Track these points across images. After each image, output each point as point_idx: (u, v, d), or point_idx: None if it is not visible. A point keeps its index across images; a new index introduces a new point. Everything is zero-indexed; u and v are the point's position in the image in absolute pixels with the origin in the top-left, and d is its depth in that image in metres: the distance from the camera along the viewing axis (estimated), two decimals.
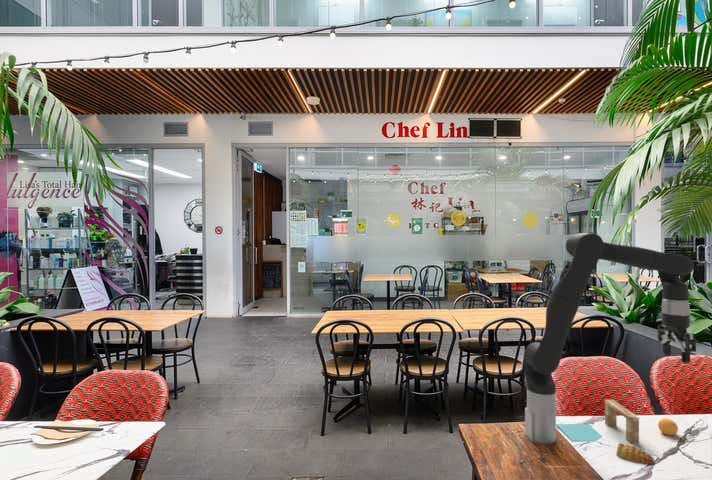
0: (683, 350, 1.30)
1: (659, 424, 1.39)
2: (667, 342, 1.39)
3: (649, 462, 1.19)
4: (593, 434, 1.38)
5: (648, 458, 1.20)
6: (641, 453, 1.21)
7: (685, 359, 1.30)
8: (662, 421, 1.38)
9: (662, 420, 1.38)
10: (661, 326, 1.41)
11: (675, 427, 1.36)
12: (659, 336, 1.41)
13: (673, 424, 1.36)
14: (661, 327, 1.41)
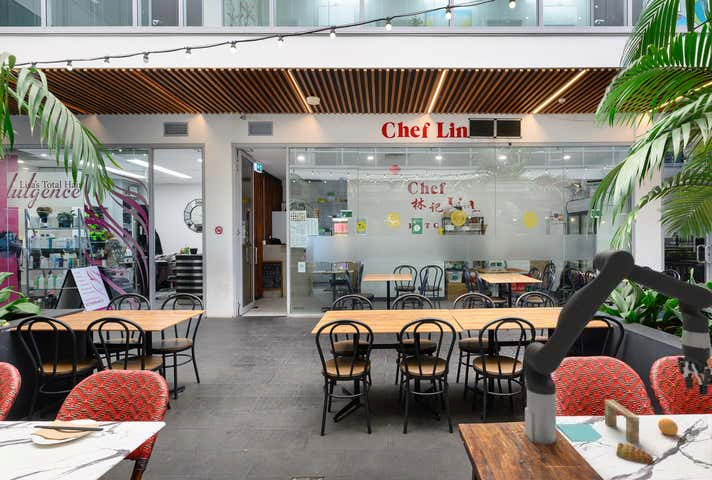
0: (700, 383, 1.34)
1: (659, 424, 1.39)
2: (689, 375, 1.40)
3: (649, 462, 1.19)
4: (593, 434, 1.38)
5: (648, 457, 1.20)
6: (641, 453, 1.22)
7: (702, 391, 1.34)
8: (662, 421, 1.38)
9: (662, 420, 1.38)
10: (680, 358, 1.43)
11: (675, 427, 1.36)
12: (680, 369, 1.43)
13: (673, 424, 1.36)
14: (681, 359, 1.43)
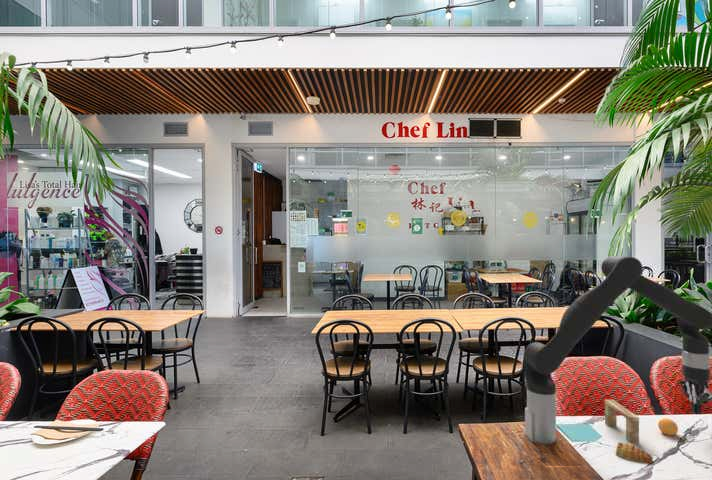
0: (695, 402, 1.36)
1: (659, 424, 1.39)
2: None
3: (648, 461, 1.20)
4: (593, 434, 1.38)
5: (647, 456, 1.20)
6: (640, 452, 1.22)
7: (697, 410, 1.36)
8: (662, 421, 1.38)
9: (662, 420, 1.38)
10: (682, 381, 1.43)
11: (675, 427, 1.36)
12: (685, 392, 1.41)
13: (673, 424, 1.36)
14: (682, 382, 1.42)
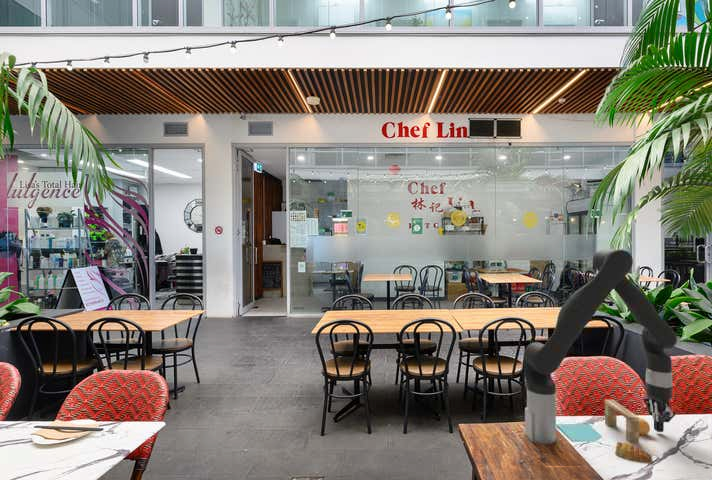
0: (657, 420, 1.37)
1: None
2: None
3: (648, 460, 1.20)
4: (593, 434, 1.38)
5: (647, 456, 1.21)
6: (639, 451, 1.22)
7: (659, 428, 1.37)
8: None
9: None
10: (646, 398, 1.44)
11: (642, 432, 1.36)
12: (649, 409, 1.41)
13: (642, 434, 1.37)
14: (646, 399, 1.43)
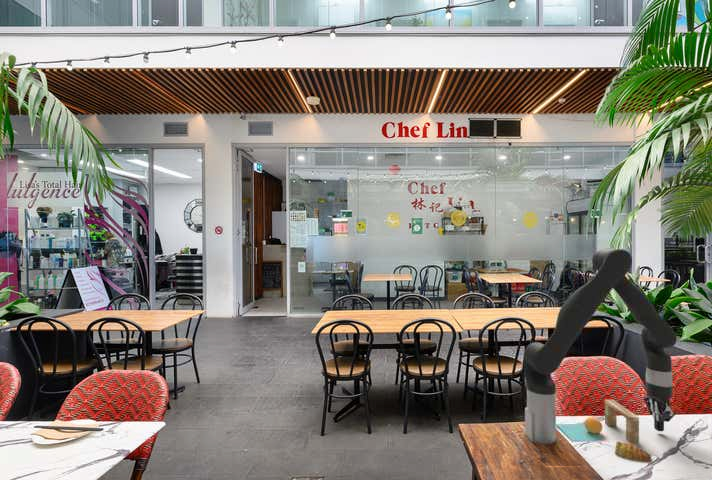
0: (657, 419, 1.37)
1: None
2: None
3: (647, 459, 1.21)
4: (593, 434, 1.38)
5: (646, 455, 1.21)
6: (639, 451, 1.23)
7: (659, 427, 1.37)
8: None
9: None
10: (646, 398, 1.44)
11: (593, 430, 1.37)
12: (649, 409, 1.41)
13: (592, 432, 1.38)
14: (646, 399, 1.43)
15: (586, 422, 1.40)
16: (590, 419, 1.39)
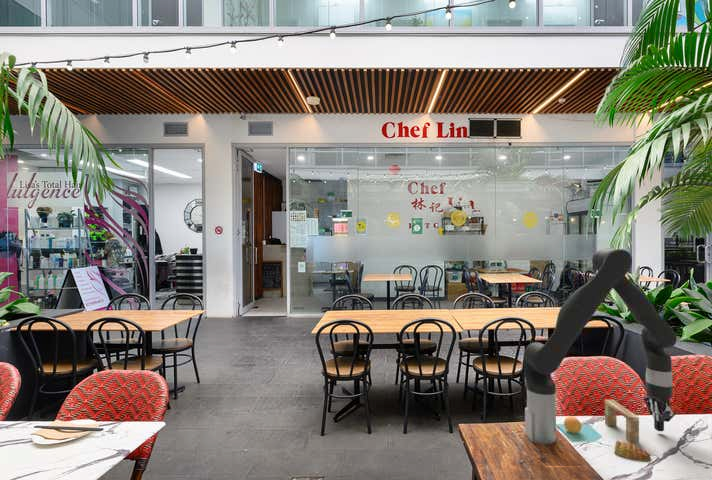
0: (657, 419, 1.37)
1: (569, 417, 1.41)
2: None
3: (647, 459, 1.21)
4: (593, 434, 1.38)
5: (645, 454, 1.22)
6: (638, 450, 1.23)
7: (659, 427, 1.37)
8: (573, 417, 1.40)
9: (574, 417, 1.40)
10: (646, 398, 1.44)
11: (579, 428, 1.38)
12: (649, 409, 1.41)
13: (580, 425, 1.38)
14: (646, 399, 1.43)
15: None
16: None
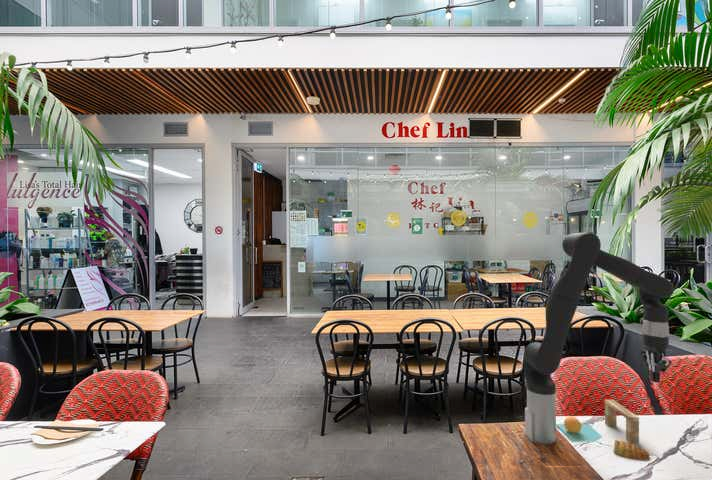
0: (653, 370, 1.38)
1: (569, 417, 1.41)
2: None
3: (646, 457, 1.22)
4: (593, 434, 1.38)
5: (644, 453, 1.22)
6: (637, 449, 1.24)
7: (655, 378, 1.38)
8: (573, 417, 1.40)
9: (574, 417, 1.40)
10: (643, 351, 1.45)
11: (579, 428, 1.38)
12: (645, 361, 1.43)
13: (580, 425, 1.38)
14: (643, 352, 1.44)
15: None
16: None
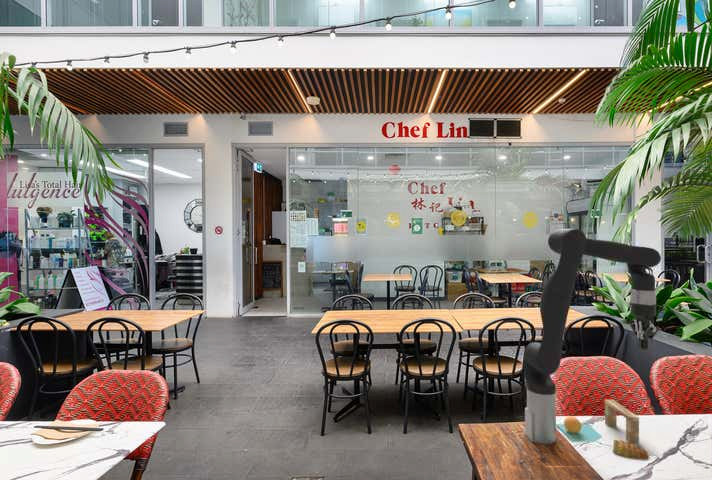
0: (641, 337, 1.42)
1: (569, 417, 1.41)
2: None
3: (645, 456, 1.22)
4: (593, 434, 1.38)
5: (643, 452, 1.23)
6: (636, 448, 1.24)
7: (643, 346, 1.42)
8: (573, 417, 1.40)
9: (574, 417, 1.40)
10: (631, 320, 1.48)
11: (579, 428, 1.38)
12: (634, 330, 1.46)
13: (580, 425, 1.38)
14: (632, 321, 1.48)
15: None
16: None
